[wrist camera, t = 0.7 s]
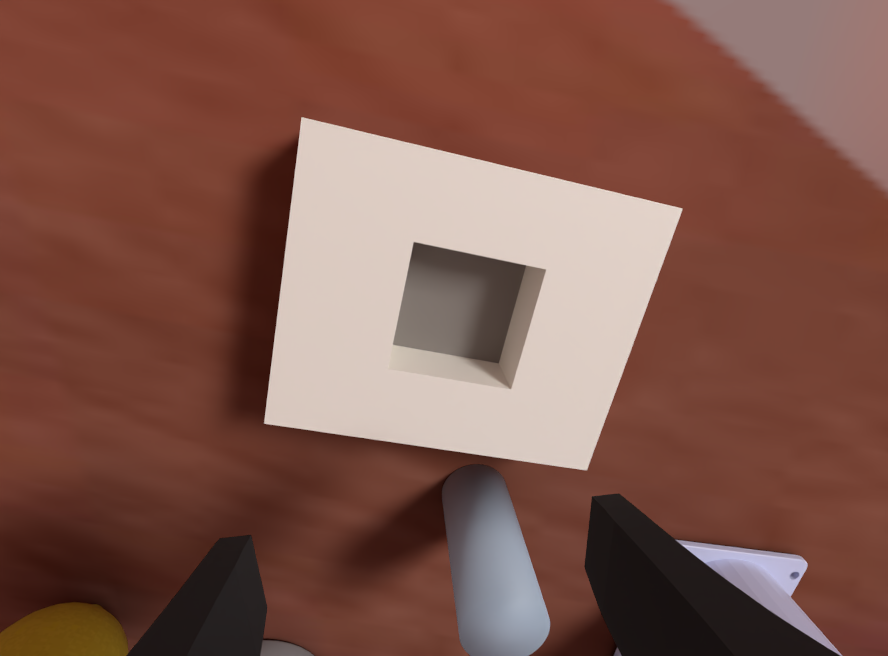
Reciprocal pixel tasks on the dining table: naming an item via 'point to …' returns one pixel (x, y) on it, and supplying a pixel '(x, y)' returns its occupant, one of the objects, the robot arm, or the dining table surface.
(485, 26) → the dining table surface
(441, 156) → the bore block
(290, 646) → the travel mug
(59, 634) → the lemon
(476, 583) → the dowel
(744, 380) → the dining table surface
